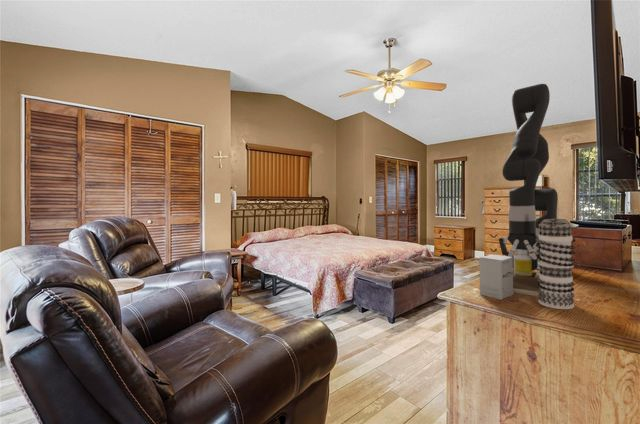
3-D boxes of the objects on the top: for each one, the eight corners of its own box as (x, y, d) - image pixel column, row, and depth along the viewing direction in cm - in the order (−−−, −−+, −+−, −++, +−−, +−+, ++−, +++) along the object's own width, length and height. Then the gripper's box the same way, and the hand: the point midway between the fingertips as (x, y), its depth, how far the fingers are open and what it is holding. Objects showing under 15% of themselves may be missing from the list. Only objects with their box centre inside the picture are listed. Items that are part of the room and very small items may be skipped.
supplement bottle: (536, 279, 100) (535, 250, 99) (517, 279, 101) (517, 250, 100) (528, 275, 105) (527, 247, 104) (510, 275, 106) (510, 247, 105)
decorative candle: (540, 296, 96) (539, 217, 95) (578, 302, 89) (577, 218, 88) (532, 304, 90) (531, 220, 88) (573, 312, 83) (572, 221, 82)
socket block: (509, 283, 110) (508, 268, 110) (543, 288, 103) (543, 272, 103) (503, 291, 103) (502, 275, 102) (539, 296, 96) (539, 279, 96)
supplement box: (502, 300, 95) (501, 260, 94) (479, 294, 101) (478, 256, 100) (514, 295, 98) (513, 256, 98) (491, 289, 105) (490, 253, 104)
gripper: (550, 218, 100) (550, 269, 101) (500, 217, 109) (501, 264, 110) (547, 220, 94) (548, 274, 95) (495, 219, 104) (496, 268, 105)
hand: (522, 268), depth 103 cm, fingers closed on supplement bottle, 5 cm apart
